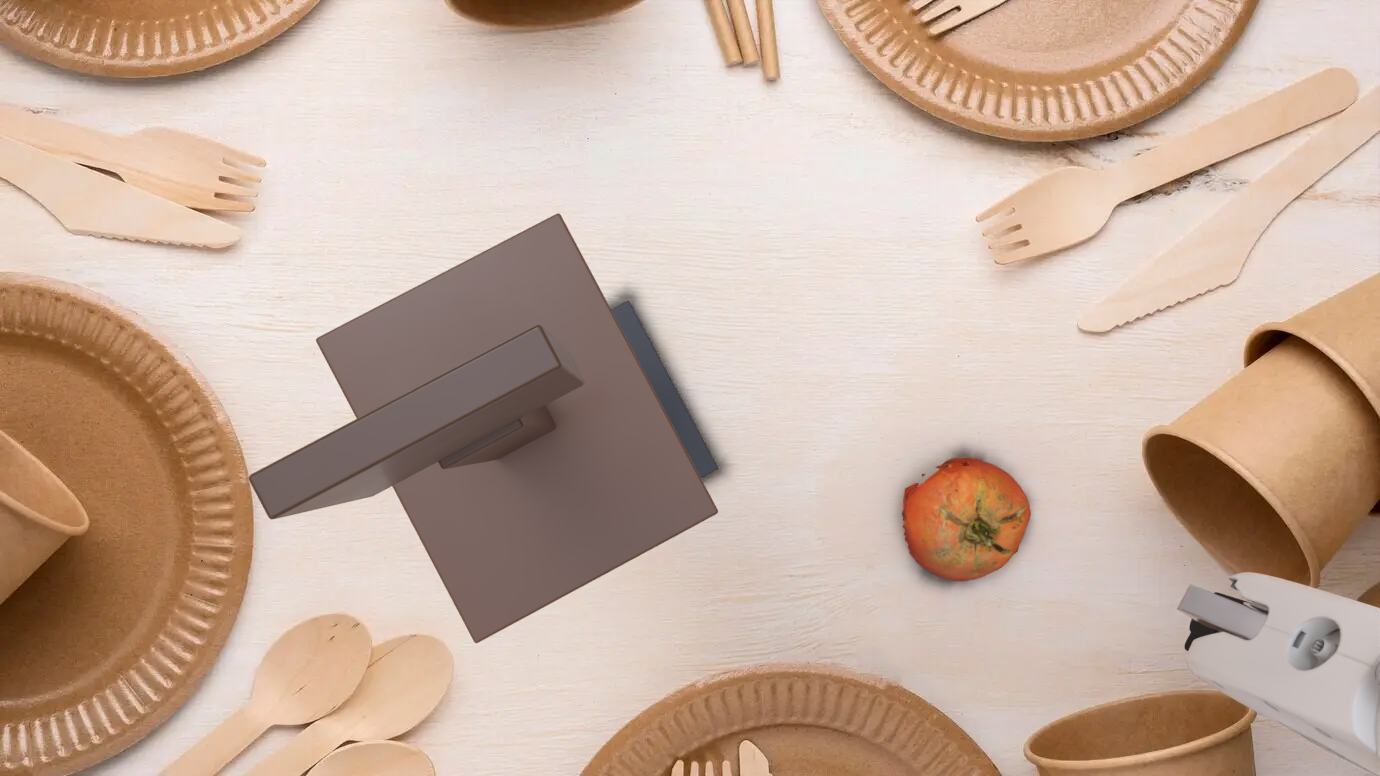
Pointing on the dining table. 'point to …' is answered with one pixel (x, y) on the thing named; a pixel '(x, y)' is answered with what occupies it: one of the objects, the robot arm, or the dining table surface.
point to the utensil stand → (507, 429)
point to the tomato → (965, 519)
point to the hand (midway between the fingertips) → (1211, 627)
